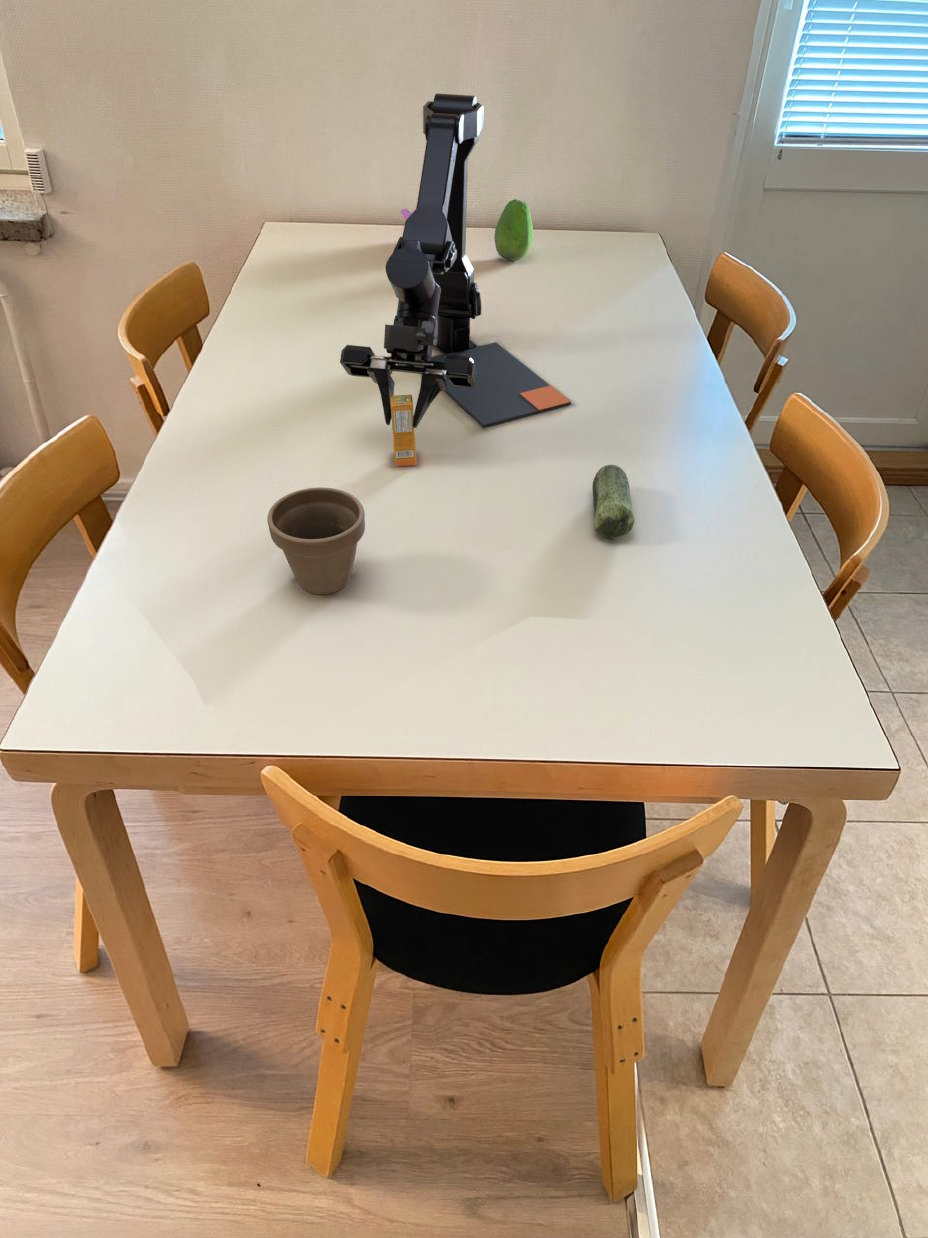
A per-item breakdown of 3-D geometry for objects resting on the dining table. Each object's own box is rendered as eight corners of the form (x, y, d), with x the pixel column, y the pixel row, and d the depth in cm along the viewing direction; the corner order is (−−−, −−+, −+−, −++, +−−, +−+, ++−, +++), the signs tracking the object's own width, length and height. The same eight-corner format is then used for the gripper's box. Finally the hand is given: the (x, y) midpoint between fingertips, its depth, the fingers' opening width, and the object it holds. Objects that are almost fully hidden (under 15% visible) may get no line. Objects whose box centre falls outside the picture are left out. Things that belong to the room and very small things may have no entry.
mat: (414, 363, 164) (414, 360, 164) (495, 344, 170) (496, 341, 170) (483, 427, 148) (483, 424, 148) (570, 404, 154) (571, 401, 154)
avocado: (532, 266, 197) (536, 205, 189) (493, 265, 197) (496, 205, 189) (530, 251, 203) (534, 192, 195) (493, 251, 203) (495, 191, 195)
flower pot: (259, 572, 121) (248, 505, 114) (337, 540, 126) (331, 474, 120) (306, 621, 114) (298, 553, 107) (386, 585, 119) (383, 518, 113)
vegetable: (632, 546, 126) (637, 514, 123) (592, 544, 126) (597, 512, 123) (625, 487, 137) (630, 456, 133) (589, 485, 137) (592, 454, 134)
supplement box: (392, 455, 142) (389, 393, 135) (415, 454, 142) (414, 392, 136) (392, 467, 140) (390, 405, 133) (416, 466, 140) (415, 404, 133)
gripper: (338, 288, 130) (321, 402, 129) (475, 301, 127) (459, 416, 127) (357, 320, 141) (341, 424, 140) (483, 332, 138) (468, 438, 138)
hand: (400, 425), depth 136 cm, fingers closed on supplement box, 3 cm apart
